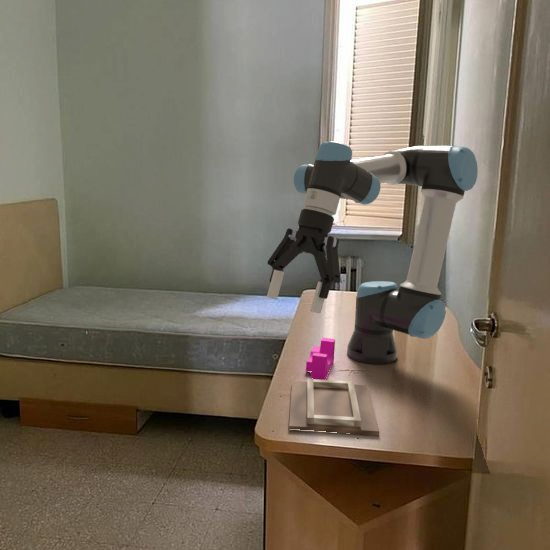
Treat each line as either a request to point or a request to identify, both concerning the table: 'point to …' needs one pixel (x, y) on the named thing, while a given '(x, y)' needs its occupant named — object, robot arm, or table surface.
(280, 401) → the table surface
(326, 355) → the toy block
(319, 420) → the locating board
